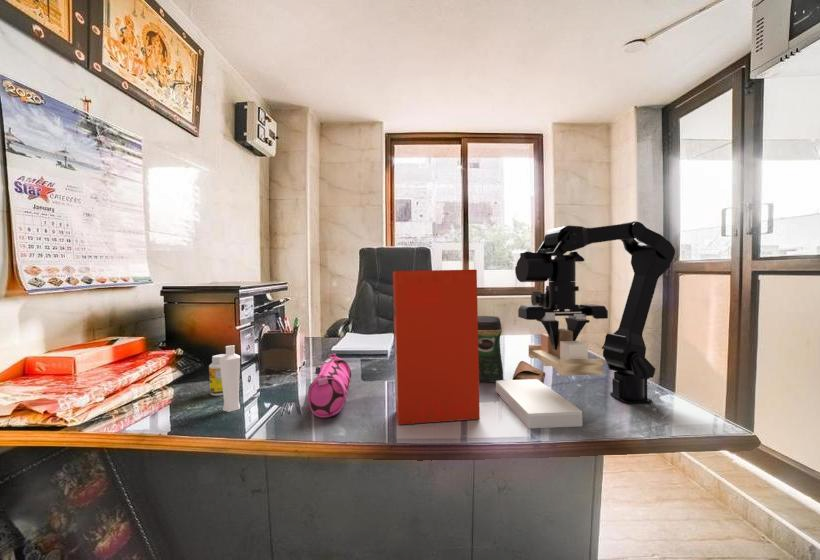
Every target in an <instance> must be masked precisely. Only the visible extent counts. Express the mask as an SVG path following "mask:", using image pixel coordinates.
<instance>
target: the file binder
mask: <svg viewBox="0 0 820 560" xmlns="http://www.w3.org/2000/svg"><path fill="white" fill-rule="evenodd" d="M477 272H478V270H477V269H440V270H438V269H436V270H435V269H433V270H430V269H429V270H426V269H425V270H394V271H393V272H392V292H393V293H392V294H393V295H392V296H393V337H394V338H393V340H394V341H393V342H394V348H393V349H394V379H395V380H394V385H395V388H394V389H395V390H394V391H395V393H394V395H395V414H396V419H397V424H398V425H411V424H427V423H441V421H442V422H453V421H454V422H455V420H456V421H465V420H466V421H468V420H469V421H470V419H471V420H479V419H481V418H480V416H481V415H480V381H479V360H478V316H479V313H478V310H479V309H478V273H477Z"/></svg>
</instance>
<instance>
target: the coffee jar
mask: <svg viewBox="0 0 820 560" xmlns="http://www.w3.org/2000/svg"><path fill="white" fill-rule="evenodd" d="M502 329H503V327H502V323H501V318H500V317H499V316H494V315H478V360H479V383H482V382H483V383H496V381H498V380H503V379H504V369H503V361H502V360H503V359H502V353H501V352H502V351H501V337H502V333H503V330H502Z"/></svg>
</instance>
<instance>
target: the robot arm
mask: <svg viewBox="0 0 820 560" xmlns="http://www.w3.org/2000/svg"><path fill="white" fill-rule="evenodd" d="M619 240H620V241H621V242H622V243H623V247H624V250H625V252H627V253H628V254H629V255H630V256H631V260H630V265H631V267H632V270H633V273H634V274H633V279H632V281H631V285H630V288H629V292H628V295H627V299H626V301H625V306H624V309H623V313H622V316H621V319H620V323H619V326H618V328H617V330H615V332H614V333H609V332H608V333H606V335H605V340H604V343H603V346H601V349H602V357H603V358H604V360H605V363H606V364H607V367H608V369H609V370H610V371H613V378H612V383H611V384H612V392H610V394H609V395H610V396H612V397H614V398H616V399H618V400H619V401H621V402H622V403H625V404H646V403H648V404H649V403H653V399H650V398H648V380H649V379H650V378H651V379H652V378H654V376H655V372H656V368H655V366H653V364H651V362H650V361H649V360H648V359H647V358H646V351H647V347H646V343H645V341H644V338H643V333H644V329H645V325H646V322H647V319H648V315H649V311H650V308H651V305H652V301H653V298H654V294H655V290H656V288H657V284H658V280H659V278H660V277H661V276H662V275H663V274H664V273H665V272H667V271H668V270H669V268H670V267H671V264H672V262H673V260H674V258H675V255H676V249H675V247H674V245H673V244H672V243H671V242H670V240H668V239H666V238H665V237H664V236H663V235H662V234H660V233H658V232H656V231H654V230H651V229H650V228H647V227H646V226H645V225H644V224H643V223H642V222H639V221H635V220H634V221H629V222H623V223H620V224H612V225H605V226H604V225H603V226H598V227H597V226H595V227H586V226H585V227H584V226H581V225H565V226H560V227H555V228H551V229H548V230H547V232H546V233H545V236H544V239H543V241H542V243H541V245H540V246H539V247H538V249H537V250H536V252H531V251H521V252H519V258H518V260H517V262H516V266H515V267H514V268H515V270H514V271H515V277H516V279H517V281H519V282H520V283H545V282H547V281H548V285H546V286H545V292H544V293H542V292H541V291H532V292H531V293H530V294H531V295H530V297H531V298H530V301H531V302H530V303H531V304H530V305H529V304H528V305H527V304H526V305H525V304H524V305H520V306H519V307H518V311H517V316H518V318H520V319H524V320H526V321H528V320H529V321H531V320H532V321H534V320H535V321H537V322H540V323H541V324H542V326H543V327H544V328H545V331H546V334H548V336H549V339H550V342H551V344H552V347H553V349H554V350H557V346H558V329H559V326H560V325H559V320H556V317H563V316H564V319H565V322H566V329H567V330H570V331H573V341H577V338H578V336H579V335H580V333H581V332H582V330H583V329H584V327H585V325H586V324H589V323H591V322H590V319H587V317H592V318H593V319H595V320H597V319H601V320H604V319H608V318H609V311H608V309H607V307H606V306H605V305H600V304H594V303H593V304H589V303H587V304H578V303H577V304H576V299H577V298H576V294H577V293H576V292H580V288H579V285H578V286H576V284H577V283H576V280H577V279H576V277H577V276H576V269H577V268H576V263H579V262H584V261H585V258H584V257H583V256H582V255H581V254H579V252H577V251H576V250H580V249H582V248H585V247H587V246H589V245H591V244H598V243H604V242H611V241H619ZM567 252H569V253H568V254H566V253H567ZM552 257H554V258H552ZM565 316H566V317H565Z"/></svg>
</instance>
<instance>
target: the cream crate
mask: <svg viewBox="0 0 820 560" xmlns="http://www.w3.org/2000/svg"><path fill="white" fill-rule="evenodd" d="M588 347H589V346H588V343H585V342H581V341H579V340H576V341H560V359H561V360H572V359H589V358H588V354H589V353H588Z"/></svg>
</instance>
